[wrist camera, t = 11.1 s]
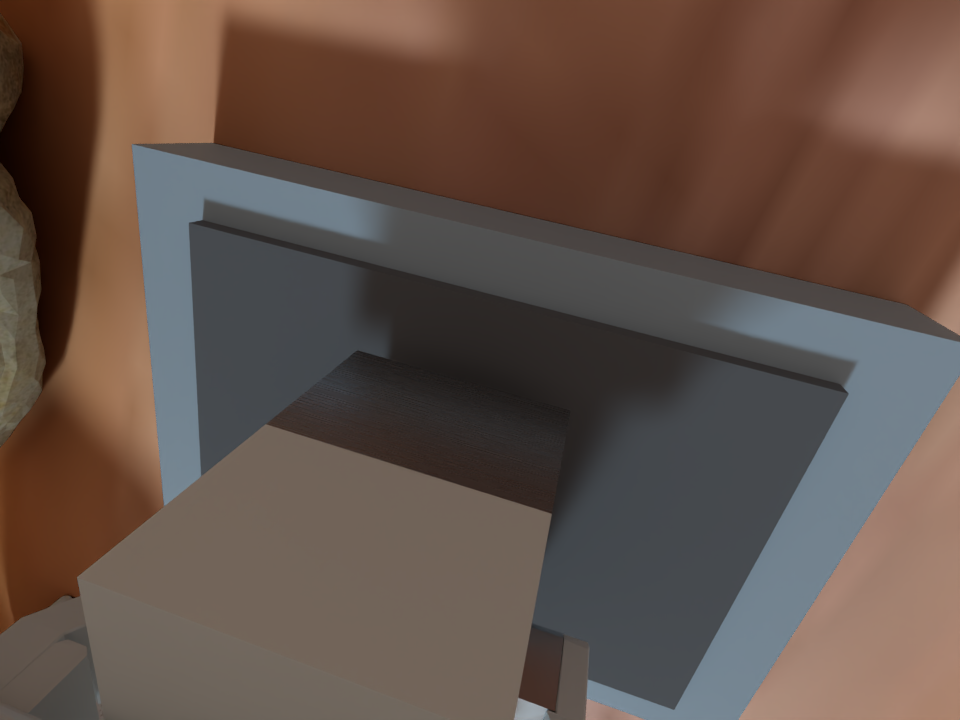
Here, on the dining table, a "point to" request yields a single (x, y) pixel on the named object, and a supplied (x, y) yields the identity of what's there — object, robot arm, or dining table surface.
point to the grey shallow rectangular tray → (558, 393)
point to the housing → (340, 561)
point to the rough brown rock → (16, 268)
